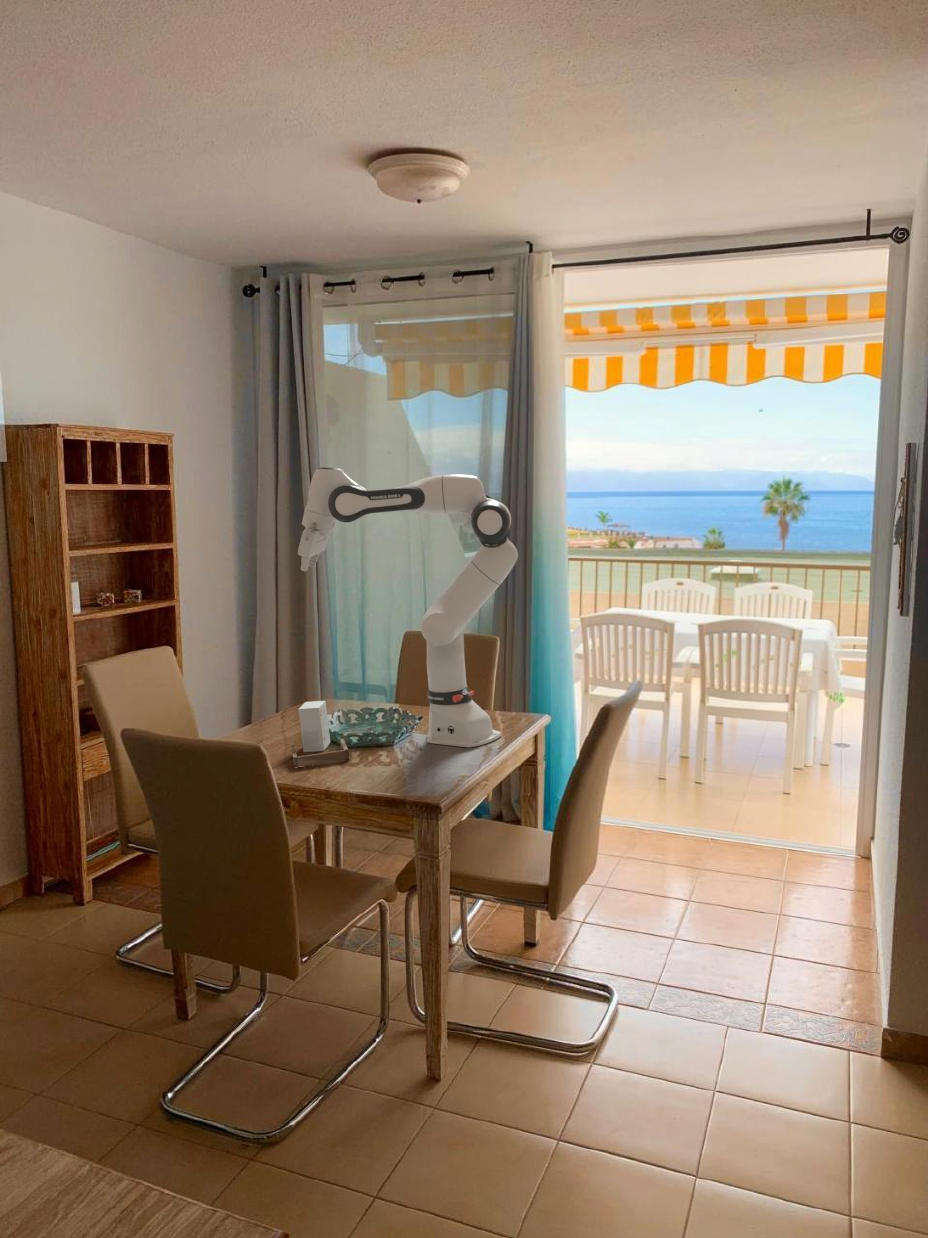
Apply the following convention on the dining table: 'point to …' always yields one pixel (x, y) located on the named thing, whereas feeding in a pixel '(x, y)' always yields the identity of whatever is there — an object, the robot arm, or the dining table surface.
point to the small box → (314, 726)
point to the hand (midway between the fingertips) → (307, 568)
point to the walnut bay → (321, 756)
